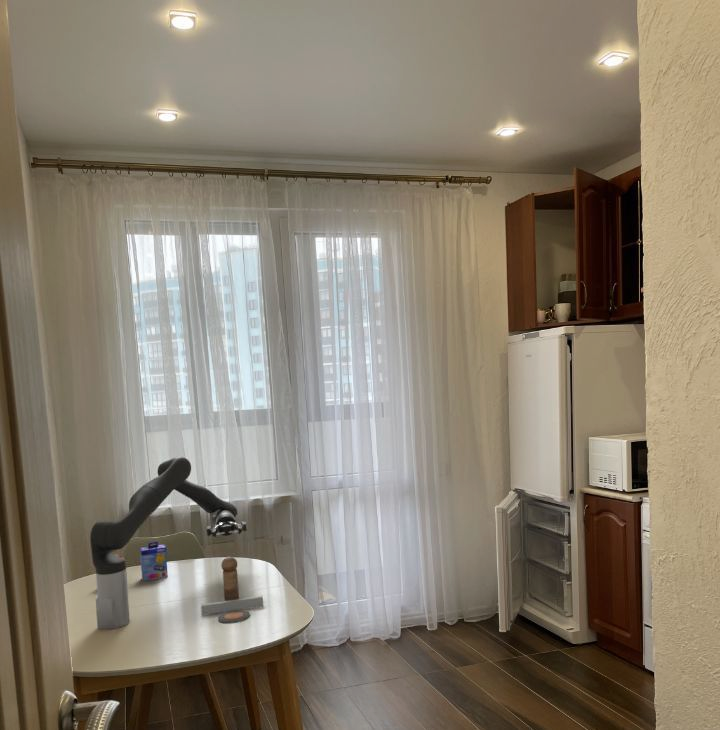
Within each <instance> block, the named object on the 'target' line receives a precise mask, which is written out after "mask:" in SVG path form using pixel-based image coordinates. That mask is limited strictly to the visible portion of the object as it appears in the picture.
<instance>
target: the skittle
mask: <svg viewBox="0 0 720 730" xmlns="http://www.w3.org/2000/svg"><path fill="white" fill-rule="evenodd" d="M220 565H221V569H222V580H223V581H222V582H223V593H224V601H229V600H236V599H240V594H239V593H240V592H239V581H238V580H239V579H238V569H237V567H238V561H237V559H236V558H235V557H233V556H227V557H224V559H222V561H221V563H220Z"/></svg>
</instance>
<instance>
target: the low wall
mask: <svg viewBox="0 0 720 730" xmlns="http://www.w3.org/2000/svg"><path fill="white" fill-rule="evenodd" d="M200 607H201V616H205V615H206V616H207V615H212V614H213V615H214V614H218V613H220V614H221V613H225V612H228V611H233V610H246V609H247V610H248V609H253V608H259V607H264V596H263V595H258V596H251V597H245V598H244V597H243V598H239V599H236V600H229V601H225V600H223V601H216V602H209V603H202V604H201V606H200Z"/></svg>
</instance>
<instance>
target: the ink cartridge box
mask: <svg viewBox="0 0 720 730" xmlns="http://www.w3.org/2000/svg"><path fill="white" fill-rule="evenodd" d="M139 550H140V551H139V553H140V555H139V556H140V571H141V579H142V582H146V581H152V580H156V579H164V578H168V577H169V574H168V564H167V562H168V560H167V557H168V555H167V546H166V545H165V544H159V542H158V541H157V540H156V541H153V542H148V546H145V547H140V548H139Z"/></svg>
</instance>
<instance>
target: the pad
mask: <svg viewBox="0 0 720 730" xmlns="http://www.w3.org/2000/svg"><path fill="white" fill-rule="evenodd" d="M249 618H250V611H248V610H246V609H240V610H233V611H227V612H221V613H220V614H219V615H218V616H217V620H218V622H220V623H222V622H223V623H222V624H232V623H231V622H235V623H240V622H243V621H245V620H247V619H249ZM239 621H240V622H239ZM225 622H226V623H225Z"/></svg>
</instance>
